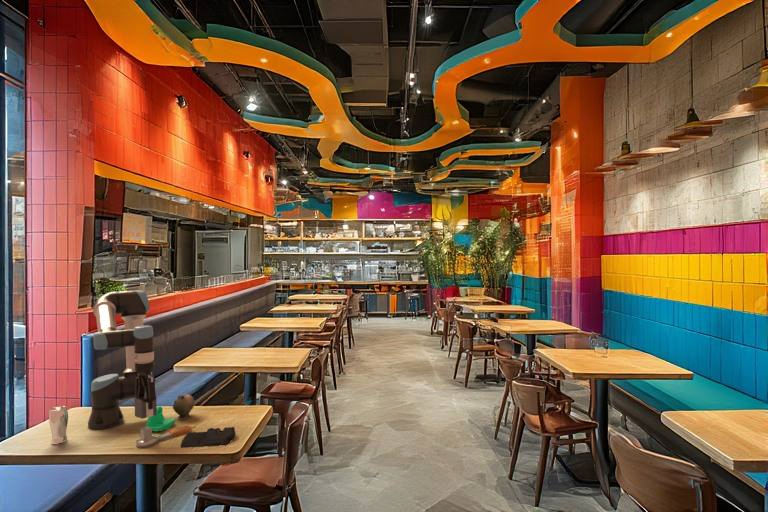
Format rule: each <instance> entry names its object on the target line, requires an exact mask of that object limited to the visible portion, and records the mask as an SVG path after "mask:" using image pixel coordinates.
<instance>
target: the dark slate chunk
mask: <svg viewBox="0 0 768 512" xmlns="http://www.w3.org/2000/svg"><path fill="white" fill-rule="evenodd" d="M235 436H236V431H235V427H234V426H231V427H224V428H223V429H222V430H221V428H220V427H215V428H214V427H209V428H207V430H206V431H194V432H193V431H191V432H188V433H186V435H184V437H183V438H182V440H181V443H180V448H182V449H183V448H185V449H186V448H203V447H204V446H208V447H220V446H219V445H225V446H227V445H230V444H231V443H230V441H231V440H232V441H233V440H234V439H235ZM232 441H231V442H232ZM229 443H230V444H229ZM204 448H205V447H204Z"/></svg>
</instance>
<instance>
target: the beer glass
mask: <svg viewBox="0 0 768 512" xmlns="http://www.w3.org/2000/svg"><path fill="white" fill-rule="evenodd" d="M48 413H49V415H48V417H49V418H48V422H49V427H50V431H51V443H52V444H51V445H53V444H56V445H60V444H59V443H62V444H64V443H63V442H65V443H66V442H68V435H67V429H68V424H69V423H68V422H69V410H68V406H67V405H61V406H60V405H57V406H54V407H52V408H49V412H48Z"/></svg>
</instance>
